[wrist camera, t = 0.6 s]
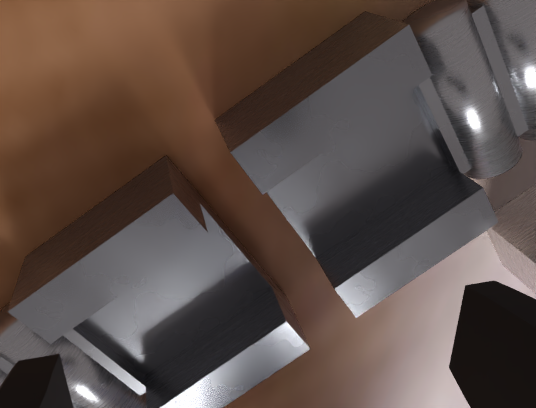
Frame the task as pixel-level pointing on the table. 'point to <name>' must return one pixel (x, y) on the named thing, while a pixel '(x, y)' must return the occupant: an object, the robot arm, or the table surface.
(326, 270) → the chain end
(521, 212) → the pale grey rectangular prism
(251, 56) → the table surface
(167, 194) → the chain end
